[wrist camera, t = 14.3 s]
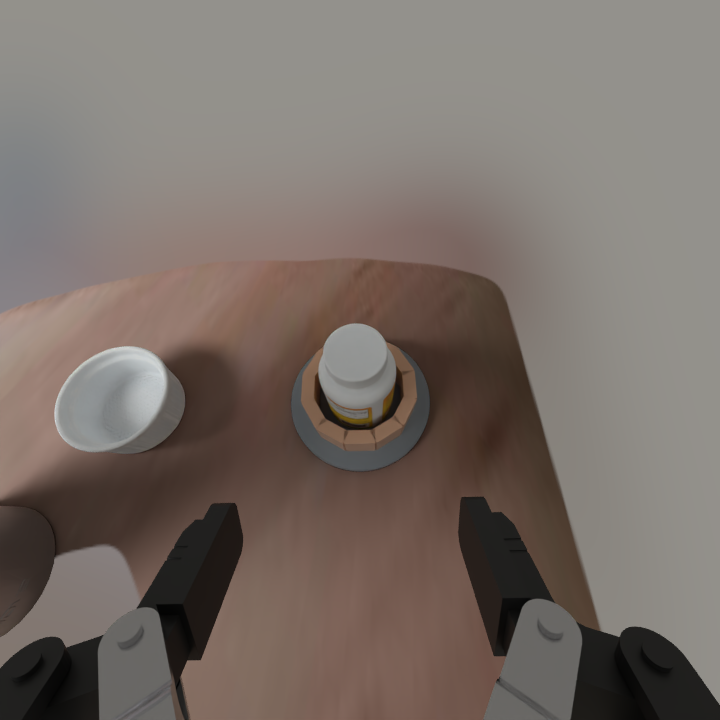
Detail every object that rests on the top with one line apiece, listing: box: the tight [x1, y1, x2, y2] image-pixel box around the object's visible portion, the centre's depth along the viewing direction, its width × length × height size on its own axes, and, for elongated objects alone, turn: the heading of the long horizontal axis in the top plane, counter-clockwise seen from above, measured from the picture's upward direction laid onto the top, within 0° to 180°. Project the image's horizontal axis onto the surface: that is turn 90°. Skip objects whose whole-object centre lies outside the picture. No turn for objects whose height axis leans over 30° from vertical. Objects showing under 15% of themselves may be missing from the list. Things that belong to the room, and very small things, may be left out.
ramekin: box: [55, 346, 185, 454], centre depth 29 cm, size 9×9×4 cm
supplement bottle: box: [318, 324, 396, 430], centre depth 25 cm, size 5×5×10 cm
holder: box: [291, 341, 430, 472], centre depth 29 cm, size 12×12×4 cm
